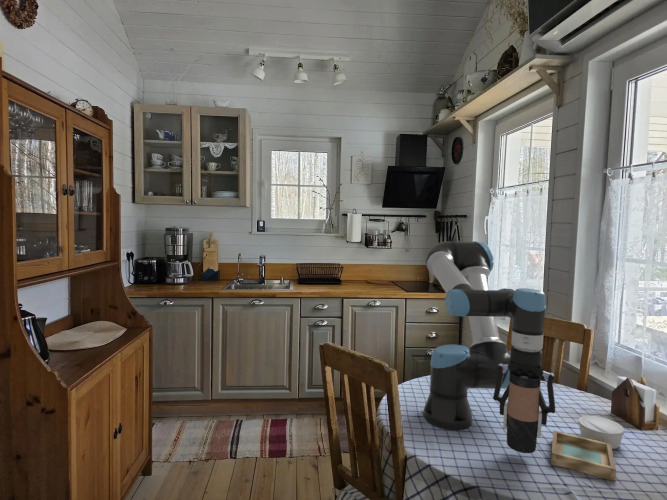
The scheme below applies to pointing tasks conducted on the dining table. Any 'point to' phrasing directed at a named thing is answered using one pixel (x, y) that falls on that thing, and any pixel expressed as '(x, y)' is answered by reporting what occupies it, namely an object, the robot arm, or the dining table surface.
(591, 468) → the tray
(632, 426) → the dining table surface
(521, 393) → the travel mug
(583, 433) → the ramekin
